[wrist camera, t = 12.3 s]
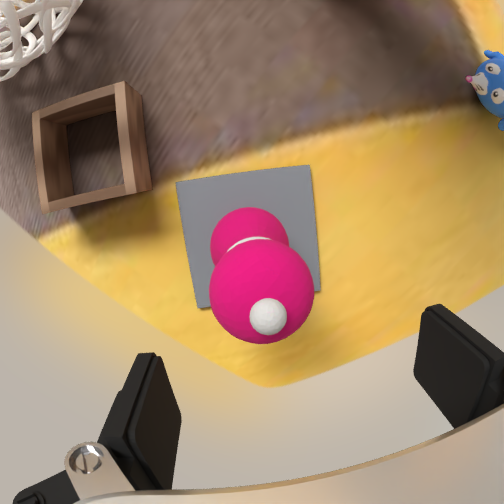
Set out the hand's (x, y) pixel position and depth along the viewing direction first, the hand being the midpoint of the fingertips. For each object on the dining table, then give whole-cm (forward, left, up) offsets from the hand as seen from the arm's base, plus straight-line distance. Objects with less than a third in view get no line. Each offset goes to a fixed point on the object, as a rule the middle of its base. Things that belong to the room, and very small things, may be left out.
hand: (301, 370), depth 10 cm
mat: (0, 0, -25) cm, 25 cm away
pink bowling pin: (0, -1, -24) cm, 24 cm away
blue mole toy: (-17, +34, -25) cm, 45 cm away
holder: (-12, -15, -25) cm, 31 cm away
